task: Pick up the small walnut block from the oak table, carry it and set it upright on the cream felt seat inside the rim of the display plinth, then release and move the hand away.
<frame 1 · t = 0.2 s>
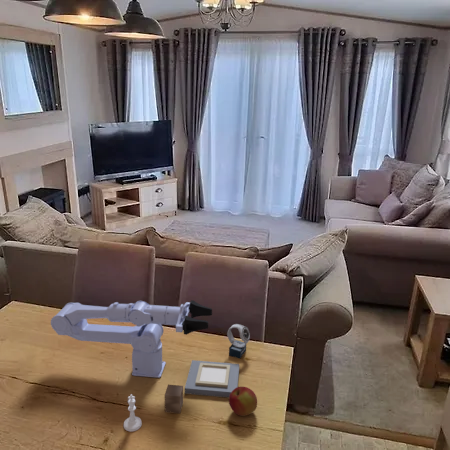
hand: (210, 318, 129), 21 cm above the table, tool horizontal, fingers open, 7 cm apart
apple: (242, 412, 121), on the table
display plinth: (213, 380, 133), on the table
walnut block: (174, 407, 122), on the table
chess piece: (132, 425, 115), on the table
watch: (237, 353, 148), on the table
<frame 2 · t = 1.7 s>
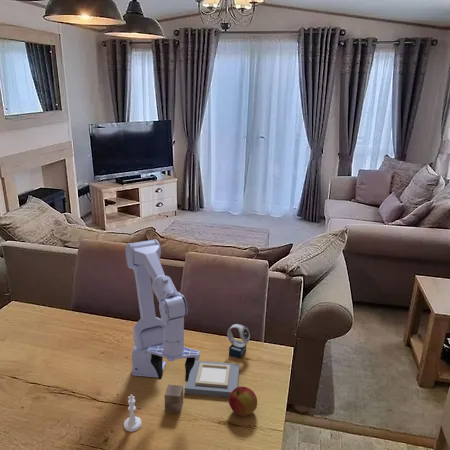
hand: (173, 378, 119), 10 cm above the table, tool pointing down, fingers open, 7 cm apart
nothing on the table moved.
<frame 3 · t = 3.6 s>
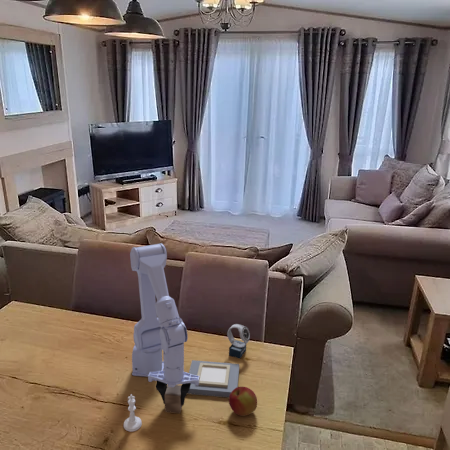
hand: (174, 402, 121), 2 cm above the table, tool pointing down, fingers closed on walnut block, 4 cm apart
walnut block: (174, 407, 122), on the table, touching gripper
everything else where it was.
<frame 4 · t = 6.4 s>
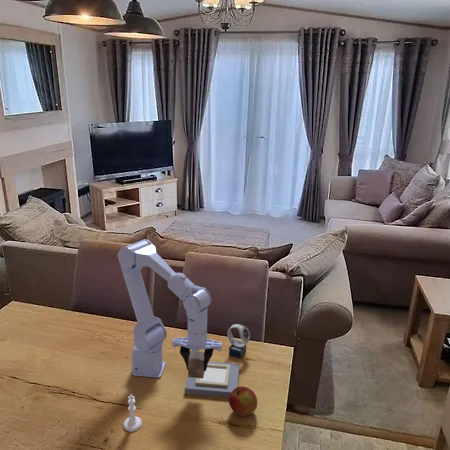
hand: (196, 368, 126), 9 cm above the table, tool pointing down, fingers closed on walnut block, 4 cm apart
walnut block: (196, 373, 126), point 7 cm above the table, touching gripper
everything else where it was.
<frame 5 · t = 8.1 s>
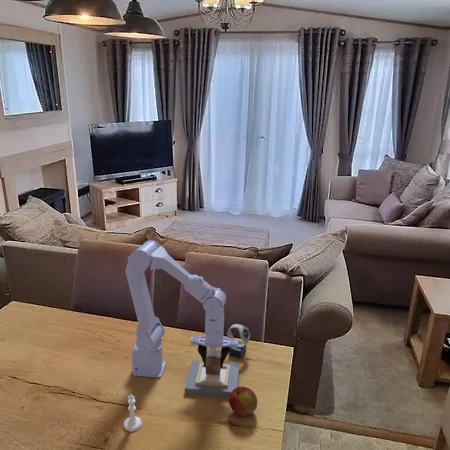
hand: (213, 365, 132), 6 cm above the table, tool pointing down, fingers closed on walnut block, 4 cm apart
walnut block: (213, 370, 132), point 4 cm above the table, touching gripper
everything else where it was.
when the fingers open (5 cm above the table, at t = 9.4 s): walnut block drops 1 cm, resting on display plinth.
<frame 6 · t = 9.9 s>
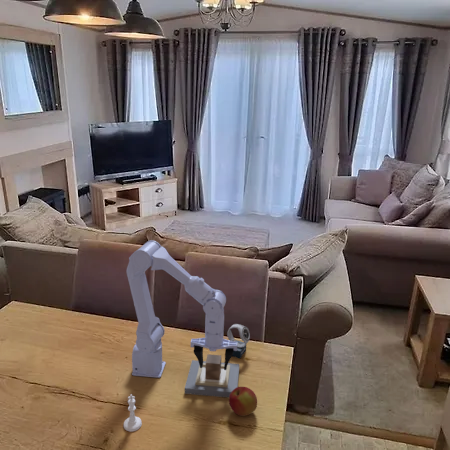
hand: (213, 367, 132), 5 cm above the table, tool pointing down, fingers open, 7 cm apart
walnut block: (213, 375, 133), point 2 cm above the table, touching display plinth
everything else where it was.
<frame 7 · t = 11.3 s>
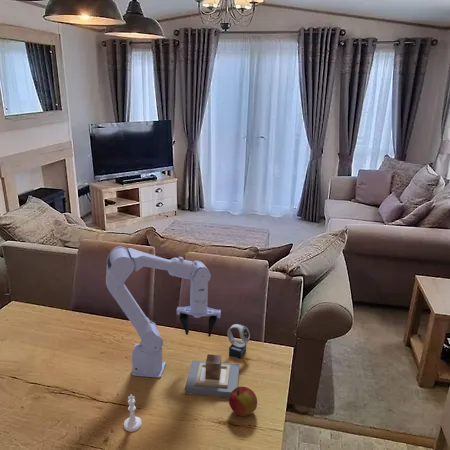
hand: (198, 334, 140), 10 cm above the table, tool pointing down, fingers open, 7 cm apart
nothing on the table moved.
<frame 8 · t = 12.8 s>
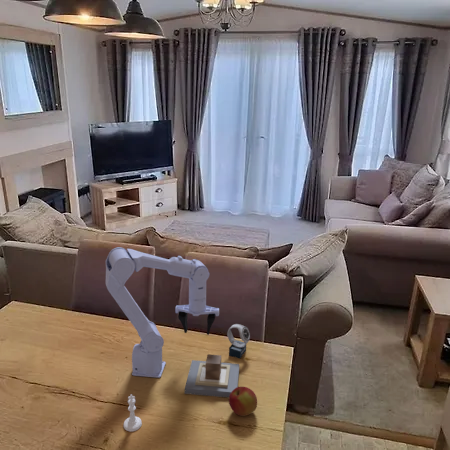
hand: (197, 332, 141), 10 cm above the table, tool pointing down, fingers open, 7 cm apart
nothing on the table moved.
at the end: walnut block 0.0 cm off-centre on the display plinth, point 2.2 cm above the display plinth's base; walnut block tilted 0°; the gripper is holding nothing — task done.
